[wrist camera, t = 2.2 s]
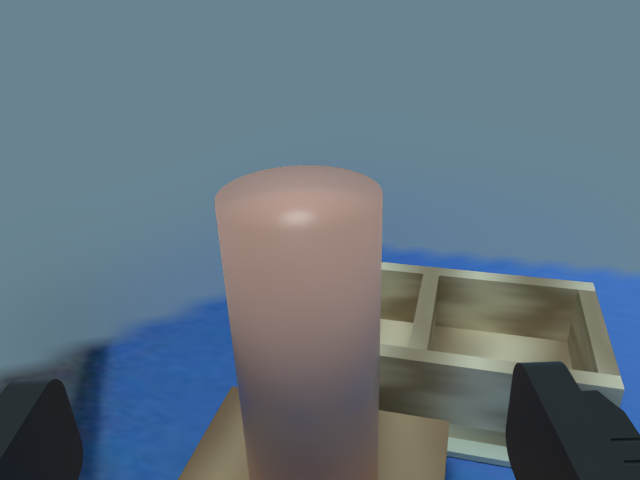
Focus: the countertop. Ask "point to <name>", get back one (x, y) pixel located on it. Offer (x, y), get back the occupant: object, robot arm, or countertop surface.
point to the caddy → (483, 343)
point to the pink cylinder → (305, 318)
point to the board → (393, 447)
